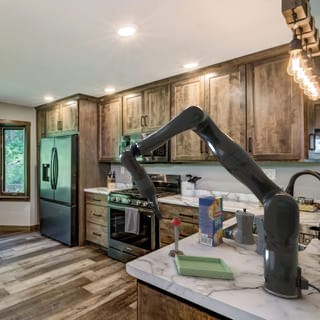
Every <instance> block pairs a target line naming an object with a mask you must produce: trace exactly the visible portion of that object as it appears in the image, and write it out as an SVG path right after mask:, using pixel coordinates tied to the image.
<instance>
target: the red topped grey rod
mask: <svg viewBox="0 0 320 320" xmlns="http://www.w3.org/2000/svg"><path fill="white" fill-rule="evenodd" d="M171 223H172V225H173V226H174V249H170V250H169V256H170V257H173V258H175V254H176V255H184V251H182V250H181V249H179V227H180V225H181V224H182V221H181V219H180V217H179V216H173V219H172V221H171Z"/></svg>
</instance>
